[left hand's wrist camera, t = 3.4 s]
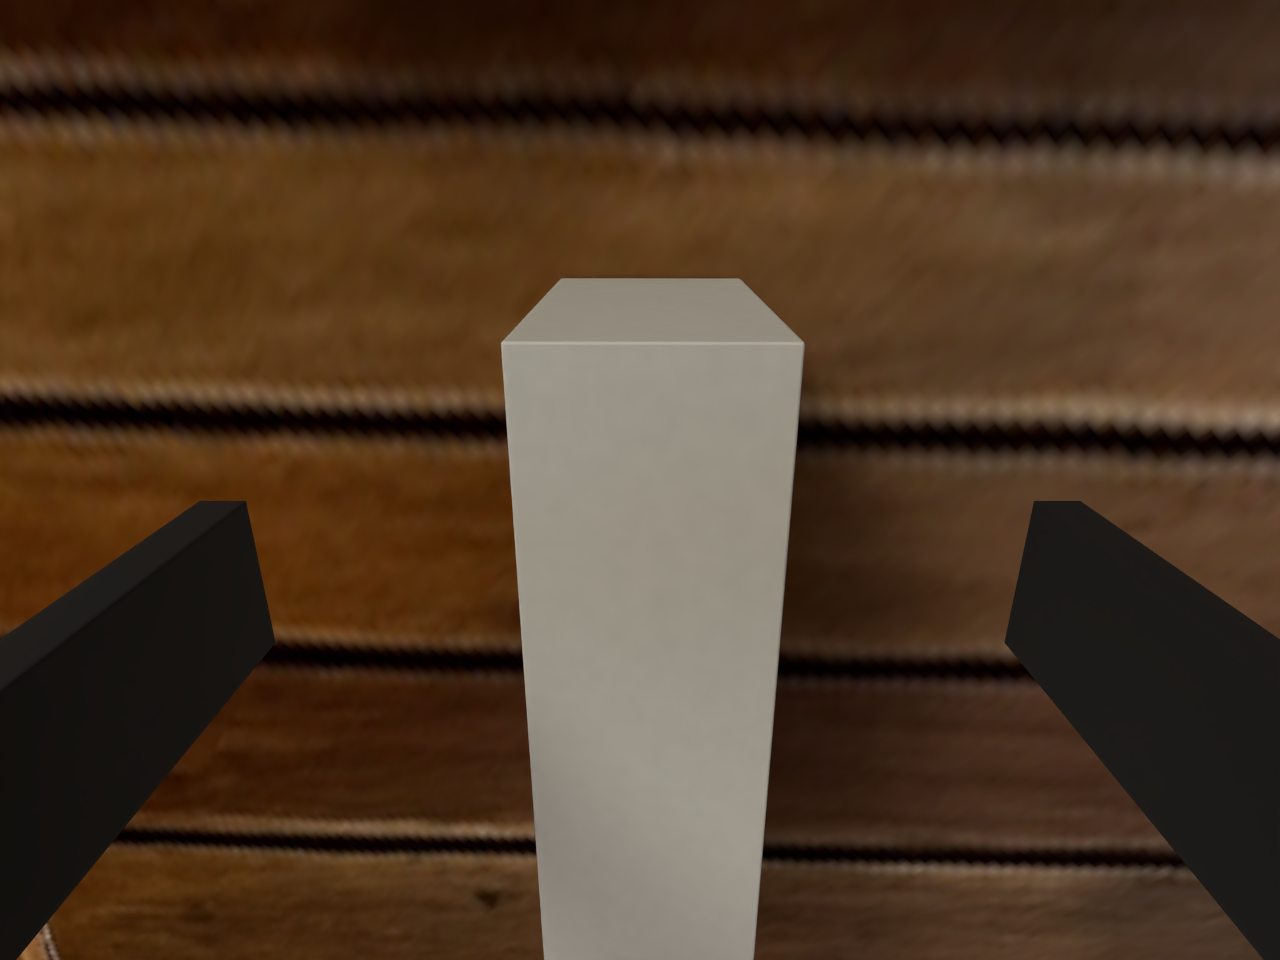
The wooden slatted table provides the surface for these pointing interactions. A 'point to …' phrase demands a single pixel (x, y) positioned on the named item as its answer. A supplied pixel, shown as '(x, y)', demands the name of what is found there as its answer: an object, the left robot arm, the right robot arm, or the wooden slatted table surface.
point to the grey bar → (651, 603)
